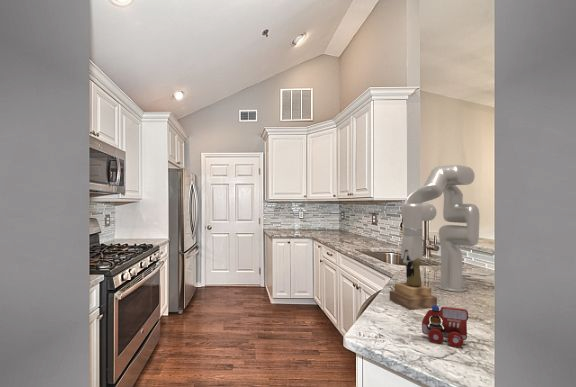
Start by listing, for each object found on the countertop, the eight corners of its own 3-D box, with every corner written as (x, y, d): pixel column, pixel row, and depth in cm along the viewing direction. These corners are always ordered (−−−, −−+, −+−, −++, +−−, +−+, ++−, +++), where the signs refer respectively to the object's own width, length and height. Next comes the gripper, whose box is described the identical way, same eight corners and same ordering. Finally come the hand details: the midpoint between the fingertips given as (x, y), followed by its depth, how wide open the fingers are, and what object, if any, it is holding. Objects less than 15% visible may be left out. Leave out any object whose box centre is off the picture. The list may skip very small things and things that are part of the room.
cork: (421, 283, 131) (421, 256, 131) (422, 286, 125) (422, 259, 126) (405, 281, 133) (406, 255, 133) (406, 284, 127) (406, 257, 127)
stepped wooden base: (414, 298, 137) (414, 281, 137) (436, 307, 124) (436, 288, 125) (389, 300, 133) (389, 282, 133) (409, 310, 121) (409, 290, 121)
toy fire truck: (422, 333, 99) (422, 299, 99) (467, 341, 93) (467, 306, 94) (421, 341, 93) (421, 305, 93) (469, 350, 87) (469, 312, 88)
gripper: (414, 231, 138) (414, 273, 138) (393, 233, 128) (393, 278, 127) (430, 232, 132) (430, 276, 132) (411, 234, 122) (411, 281, 121)
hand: (412, 276), depth 129 cm, fingers open, 3 cm apart
